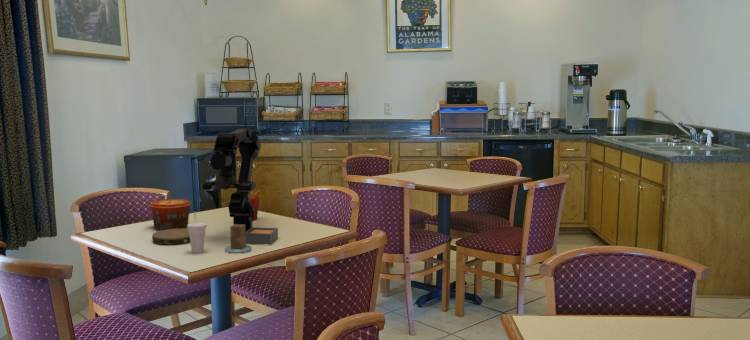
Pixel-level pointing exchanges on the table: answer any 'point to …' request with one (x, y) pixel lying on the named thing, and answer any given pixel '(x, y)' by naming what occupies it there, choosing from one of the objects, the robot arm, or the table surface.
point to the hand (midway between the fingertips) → (229, 208)
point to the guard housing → (261, 236)
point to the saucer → (246, 249)
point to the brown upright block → (238, 236)
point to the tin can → (171, 237)
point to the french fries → (254, 203)
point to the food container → (170, 214)
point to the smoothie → (197, 235)
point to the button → (261, 231)
